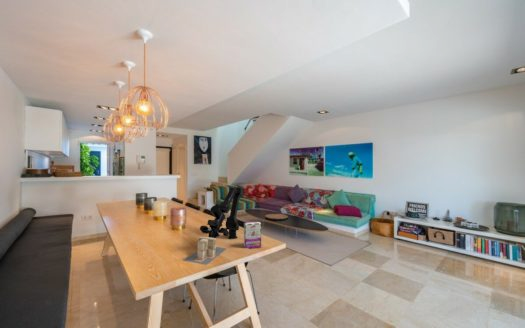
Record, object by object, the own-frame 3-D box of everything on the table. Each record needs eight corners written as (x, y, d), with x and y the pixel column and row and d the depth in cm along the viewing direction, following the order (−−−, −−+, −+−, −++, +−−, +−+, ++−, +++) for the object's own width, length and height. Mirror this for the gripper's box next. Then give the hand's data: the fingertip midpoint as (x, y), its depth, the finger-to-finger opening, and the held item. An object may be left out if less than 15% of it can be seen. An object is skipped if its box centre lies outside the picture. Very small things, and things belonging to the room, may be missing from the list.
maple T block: (201, 252, 132) (201, 236, 132) (215, 254, 129) (216, 238, 129) (192, 258, 124) (192, 241, 124) (207, 261, 121) (207, 243, 121)
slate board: (205, 246, 144) (206, 245, 144) (227, 249, 139) (227, 248, 139) (182, 261, 121) (182, 260, 121) (206, 265, 116) (206, 264, 116)
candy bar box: (259, 245, 148) (259, 221, 148) (261, 247, 143) (261, 223, 143) (243, 246, 145) (243, 222, 145) (244, 249, 140) (245, 224, 140)
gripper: (201, 213, 139) (190, 235, 129) (227, 215, 133) (217, 238, 123) (208, 222, 147) (198, 243, 136) (232, 224, 141) (224, 247, 130)
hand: (208, 243), depth 131 cm, fingers closed
